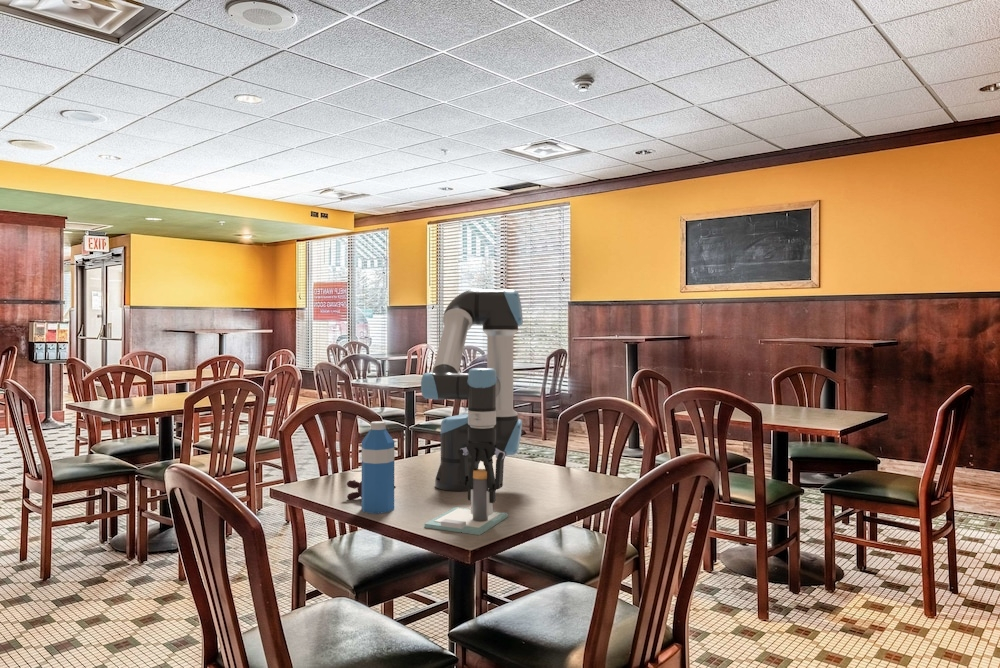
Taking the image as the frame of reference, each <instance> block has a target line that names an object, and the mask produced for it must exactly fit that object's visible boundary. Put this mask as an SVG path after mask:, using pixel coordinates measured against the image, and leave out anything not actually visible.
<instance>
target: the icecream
mask: <svg viewBox="0 0 1000 668" xmlns="http://www.w3.org/2000/svg"><path fill="white" fill-rule="evenodd" d="M346 486H347V487H348V488H349V489H350V488H351V489H354V490H355V489H356V488H357V491H354V492H350V493H348V494H347V496H346V498H347V500H356V499H358V498H360V497H361V498H362V480H361V481H359V482H358V481H356V479H354V480H352V479H350V480H348V481H347V483H346ZM396 488H397V486H395V485H394V490H395V489H396Z"/></svg>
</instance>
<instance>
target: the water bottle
mask: <svg viewBox="0 0 1000 668" xmlns="http://www.w3.org/2000/svg"><path fill="white" fill-rule="evenodd" d="M395 443H396V442H395V440H394V439H393V437H392V436H391V435H390V434H389V432H388V430H387V429H386V422H385V421H382V420H379V421H377V420H376V421H371V422H370V429H369V430H368V432H367V433H366V435H365V436H364V438H363V439H362V441H361V481H362V497H361V510H362V512H363V513H365V512H367V513H366V514H373V513H374V515H377V514H385V513H389V512H391V511H394V510H395V489H394V486H395Z"/></svg>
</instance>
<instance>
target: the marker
mask: <svg viewBox="0 0 1000 668" xmlns="http://www.w3.org/2000/svg"><path fill="white" fill-rule="evenodd" d="M486 491H488V483H487V471H485V468H478V469H476V470H473V520H474V521H487V520H488V516H487V506H486Z"/></svg>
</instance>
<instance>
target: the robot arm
mask: <svg viewBox="0 0 1000 668" xmlns="http://www.w3.org/2000/svg"><path fill="white" fill-rule="evenodd" d="M521 303H522V302H521V298H520V294H519V292H518V291H517V290H515V289H507V288H499V289H498V288H496V289H494V288H492V289H491V288H487V289H485V288H483V289H477V288H476V289H475V288H473V289H469V290H466V291H463V292H461V293H459V294H458V295H457V296H455V297H454V298H453V299H452V300H451V301H450V302H449V304H448V305H447V306H446V308H445V310H444V313H443V316H442V323H443V324H442V325H444V326H443V329H442V333H441V337H440V340H439V344H438V349H437V352H436V356H435V361H434V364H433V368H432V371H429V372H425V373H423V375H422V377H421V381H420V391H421V395H422V397H423V398H424V399H427V400H437V401H438V400H441V401H442V400H443V401H444V400H449V401H450V400H454V401H455V400H459V401H462V400H463V401H464V400H465V401H467V413H465V414H464V413H462V414H457V415H452V416H447V417H445V418H443V419H442V420H441V423H440V431H439V434H440V463H439V467H438V469H437V472H436V475H435V480H434V486H435V488H436V489H438V490H443V491H453V492H463V491H465V492H466V491H467V499H468V501H470V509H471V514H473V470H476V469H479V465H480V463H481V462H482V463H483V466H484V469H485V471H487V483H488V491H486V506H487V516H490V515H491V514H493V512H494V510H493V506H494V505H493V504H494V503H495V502H496V496H497V495H496V494H497V493H496V491H497V490H499V489H501V488H503V485H504V484H503V483H504V466H505V465H504V464H505V463H504V462H505V458H506V456H515V455H516V454H518V451H519V447H520V444H521V443H520V442H521V436H522V429H523V420H522V419H520V418H518V417H519V414H518V412H517V411H516V410H515V409H514V336H515V334H516V333H518V332H519V327H520V326H522V325H523V323H524V321H523V311H522V304H521ZM474 325H478V326H482V332H483V333H484V334H486V338H487V339H486V342H487V345H486V347H487V348H486V351H487V352H486V357H487V359H486V366H487V367H475V368H473V367H472V368H470V369H469V370H468V372H460V368H461V363H462V359H463V353H464V349H465V344H466V339H467V334H468V331H469V330H470V329H471V328H472V326H474ZM494 456H495V459H496V460H495V472H494V466H493V464H494V461H493V457H494Z"/></svg>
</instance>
